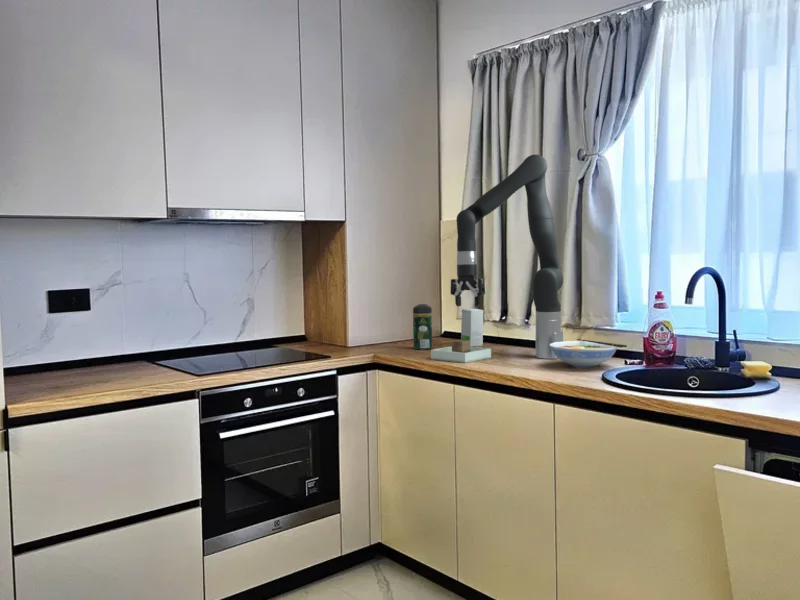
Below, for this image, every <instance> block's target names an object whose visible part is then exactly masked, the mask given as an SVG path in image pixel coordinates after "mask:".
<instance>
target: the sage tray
mask: <svg viewBox="0 0 800 600" xmlns="http://www.w3.org/2000/svg"><path fill="white" fill-rule="evenodd" d="M491 358H492V348H487V347H480V346H473V347H471V352H468V353H460V352H452V345H451V346H445V347H440V348H434V349H430V359H431V360H435V361H445V362H451V363H458V364H459V363H461V364H467V363H468V362H469V363H472V362H477V361H478V360H479V361H483V359H484V360H488V359H491Z"/></svg>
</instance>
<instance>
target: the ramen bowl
mask: <svg viewBox="0 0 800 600" xmlns="http://www.w3.org/2000/svg"><path fill="white" fill-rule="evenodd" d="M550 347H551V349H552V351H553V353H554V354H555V355H556V357H557V359H559V360H560V361H562V362H564V363H566V364H569V365H571V366H572V367H574V368H585V369H587V368H589V369H590V368H594V367H596V366H598V365H600V364H603V363H606V362H607V361H609V360H610V359H611V358H612V357H613V356H614V355H615V354H616V351H617V349H618V348H627V347H628V346H627V345H626V344H621V343H613V342H612V343H611V342H604V341H595V340H588V339H579V338H576V339H575V340H567V341H565V340H563V342H554V343H551V344H550Z"/></svg>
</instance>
